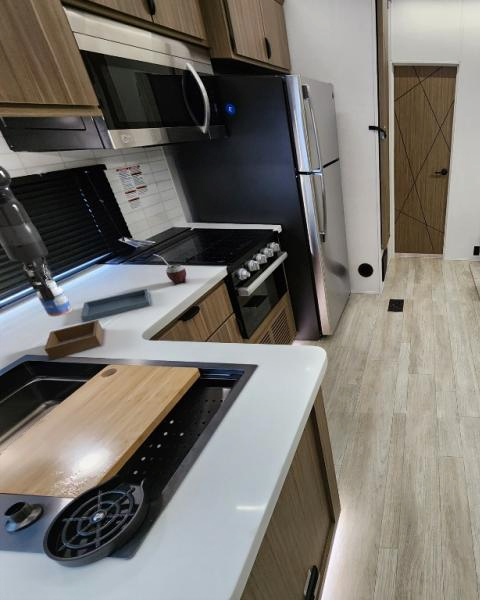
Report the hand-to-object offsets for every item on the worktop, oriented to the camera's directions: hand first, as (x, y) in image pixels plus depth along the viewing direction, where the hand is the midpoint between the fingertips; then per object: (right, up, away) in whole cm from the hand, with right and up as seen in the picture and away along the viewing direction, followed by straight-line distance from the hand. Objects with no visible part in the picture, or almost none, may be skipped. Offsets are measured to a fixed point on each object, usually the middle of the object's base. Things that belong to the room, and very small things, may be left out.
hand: (51, 296), depth 96 cm
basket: (0, -15, +8) cm, 17 cm away
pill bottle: (0, -5, +3) cm, 6 cm away
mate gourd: (+5, +6, +49) cm, 49 cm away
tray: (-6, -4, +30) cm, 30 cm away
